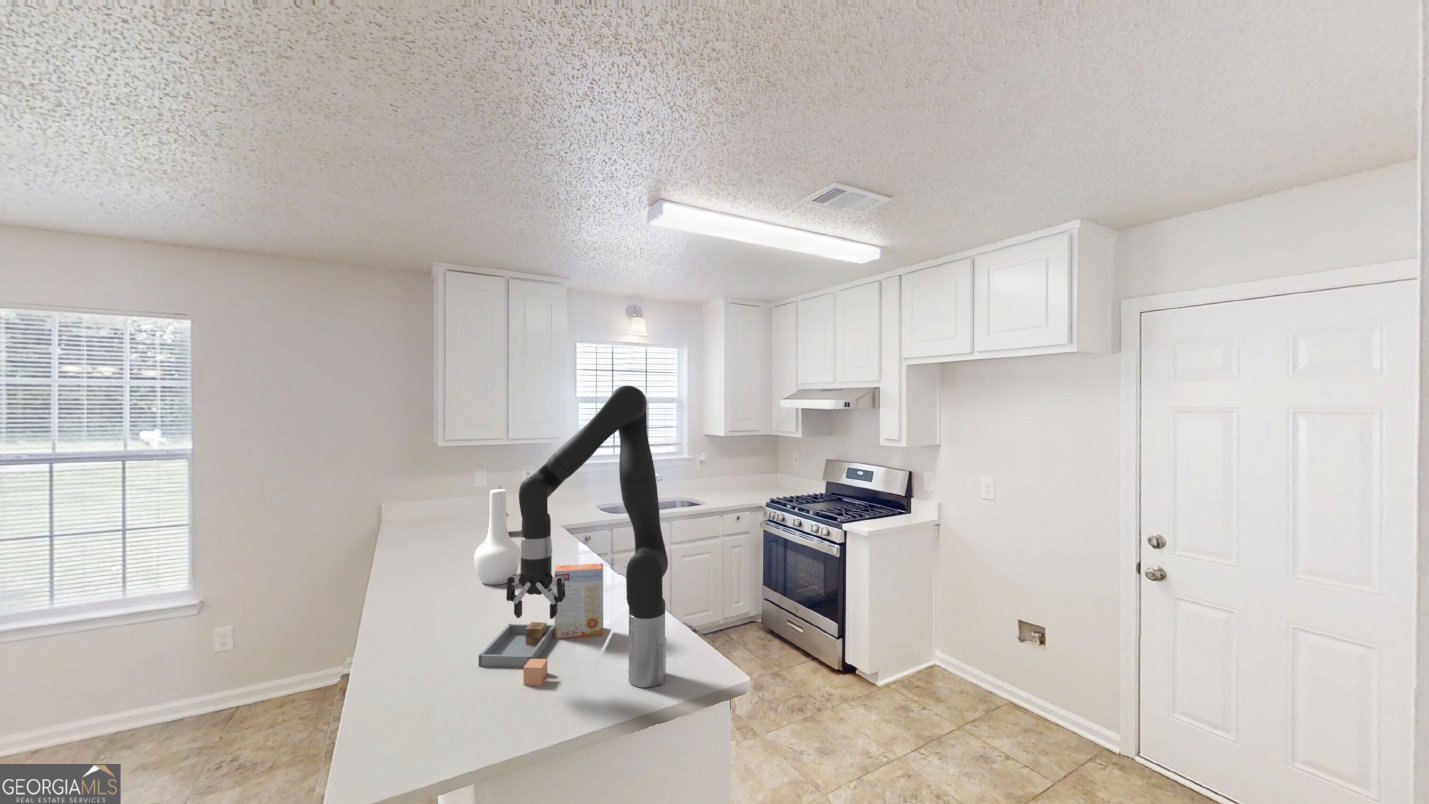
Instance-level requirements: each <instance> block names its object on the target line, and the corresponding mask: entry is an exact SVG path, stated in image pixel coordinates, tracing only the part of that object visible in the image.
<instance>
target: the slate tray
mask: <svg viewBox="0 0 1429 804" xmlns="http://www.w3.org/2000/svg"><path fill="white" fill-rule="evenodd" d="M529 624H530V623H529ZM529 624H528V623H523V624H522V623H508V624H507V626H506V627H505V628H504V629H503V630H502V631H501V632H500V633H499V634H498V635H497V636H496V637H495V638H494V639H493V640H492V641H491V642H490V643H489V644H488V645H487V646H486V647H485V648H484V649H483V650H482V651H481V653H480V654H479V655H478V667H494V668H495V667H500V668H501V667H502V668H505V667H507V668H524V666H525V665H526V664H527V662H528V661H529V660H530V659H539V657H540V656H541V655H542V653H543V652H544V650H545V649H546V647H547V646H548V645H549V643H550V642H551V640H552V639H553V638H554V637H555V624H546V634H545V635H544V637H543V638H542V639H541V641H540V642H539V643H538V645H529V644H526V628H527V627H528V626H529Z"/></svg>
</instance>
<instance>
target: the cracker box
mask: <svg viewBox="0 0 1429 804" xmlns="http://www.w3.org/2000/svg"><path fill="white" fill-rule="evenodd" d="M561 575H563V576H564V581H565V598H564V599H563V601H562V602H558V608H557V609H558V610H557V614H556V616H555V617H554V625H555V635H554V639H571V638H573V639H574V638H586V637H587V638H588V637H589V638H591V637H601V636H602V637H603V634H604V564H603V563H585V564H567V565H566V564H565V565H556V568H555V571H554V577H560V576H561ZM554 593H555V594H556V595H557V586H555V585H554Z"/></svg>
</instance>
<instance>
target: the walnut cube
mask: <svg viewBox="0 0 1429 804" xmlns="http://www.w3.org/2000/svg"><path fill="white" fill-rule="evenodd" d="M546 625H547V622H537V621H535V622H534V621H530V623H529V626H528V627H527V628H526V644H529V645H538V643H539V642H540V641H541V639H542V638H543V637H544V635H545V634H546Z"/></svg>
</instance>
